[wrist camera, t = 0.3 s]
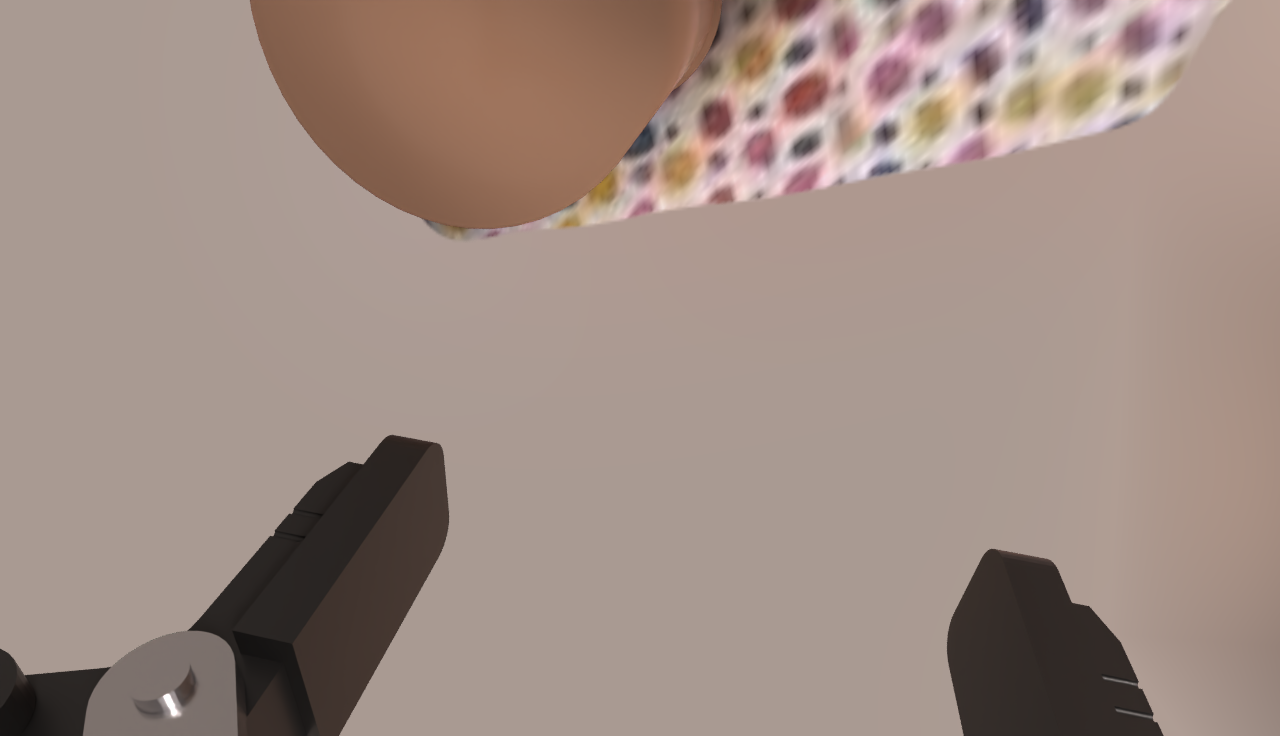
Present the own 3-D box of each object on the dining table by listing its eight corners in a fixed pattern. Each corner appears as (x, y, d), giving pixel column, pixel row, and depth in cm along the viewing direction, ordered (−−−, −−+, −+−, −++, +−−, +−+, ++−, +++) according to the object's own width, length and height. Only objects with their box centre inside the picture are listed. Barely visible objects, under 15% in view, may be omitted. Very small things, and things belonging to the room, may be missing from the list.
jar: (533, -114, 31) (173, -286, 11) (730, -110, 30) (700, -287, 11) (540, 95, 35) (284, 227, 16) (714, 105, 34) (669, 257, 15)
